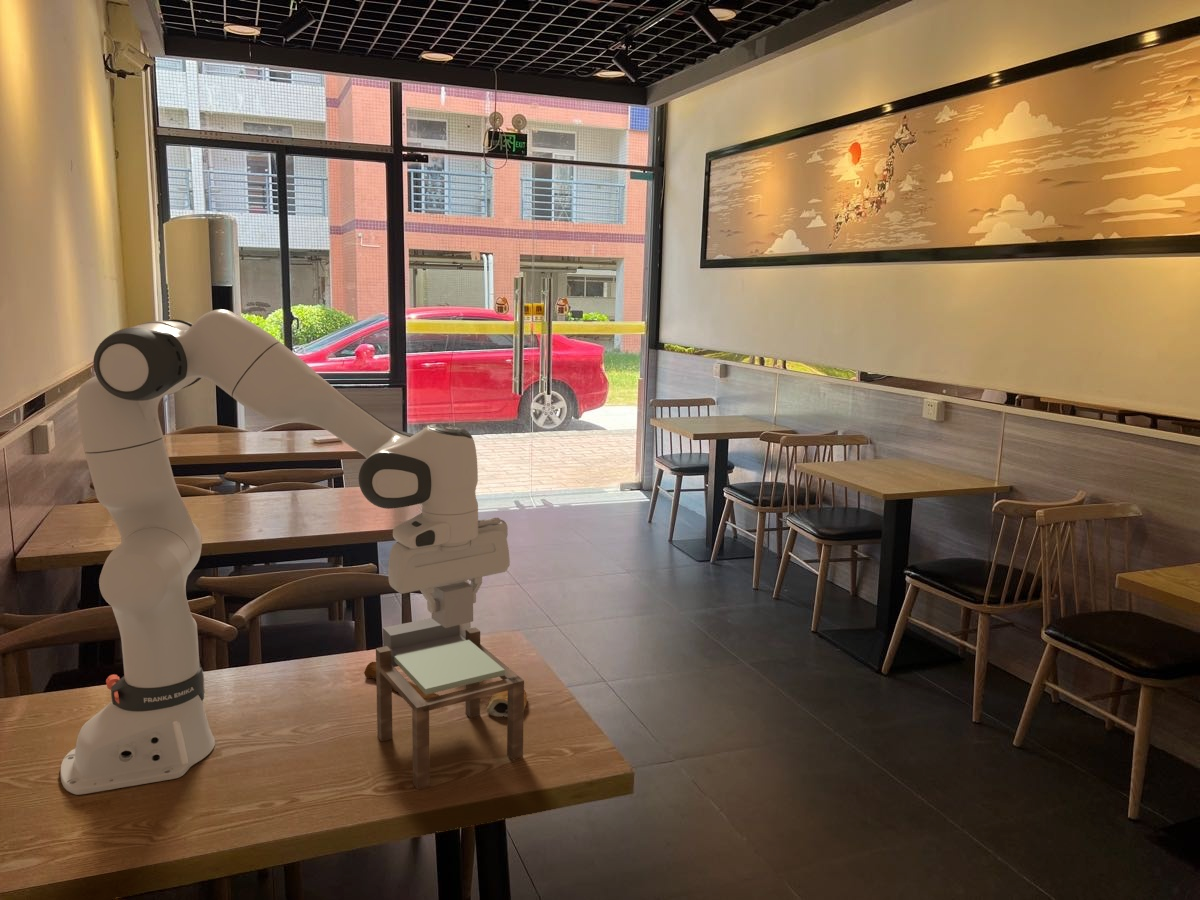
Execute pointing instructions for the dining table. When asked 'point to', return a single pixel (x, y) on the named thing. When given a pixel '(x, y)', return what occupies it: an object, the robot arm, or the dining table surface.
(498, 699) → the pastry
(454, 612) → the light grey block
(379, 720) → the stand
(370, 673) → the primitive tool
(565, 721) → the dining table surface
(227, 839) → the dining table surface
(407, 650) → the trapdoor
